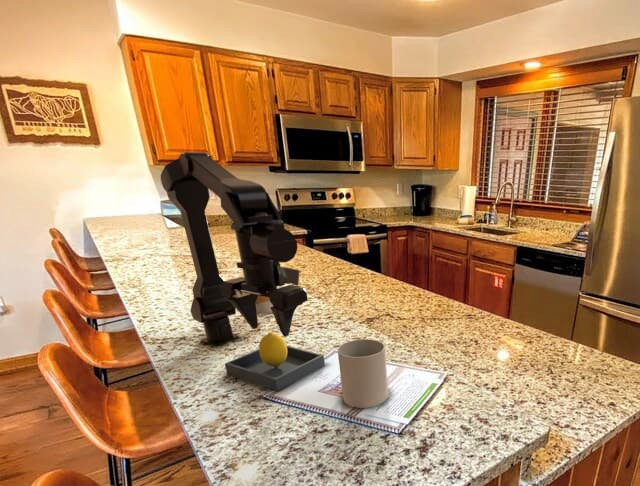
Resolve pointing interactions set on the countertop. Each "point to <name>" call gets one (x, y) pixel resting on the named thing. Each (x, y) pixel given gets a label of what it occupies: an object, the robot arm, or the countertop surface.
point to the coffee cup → (263, 305)
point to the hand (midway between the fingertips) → (270, 332)
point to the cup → (363, 373)
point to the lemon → (273, 349)
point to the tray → (272, 377)
